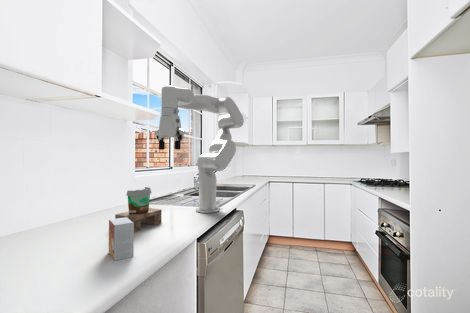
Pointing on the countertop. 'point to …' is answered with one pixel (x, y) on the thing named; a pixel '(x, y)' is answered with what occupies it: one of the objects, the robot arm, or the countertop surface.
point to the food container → (139, 201)
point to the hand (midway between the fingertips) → (169, 149)
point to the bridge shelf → (147, 220)
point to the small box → (121, 238)
